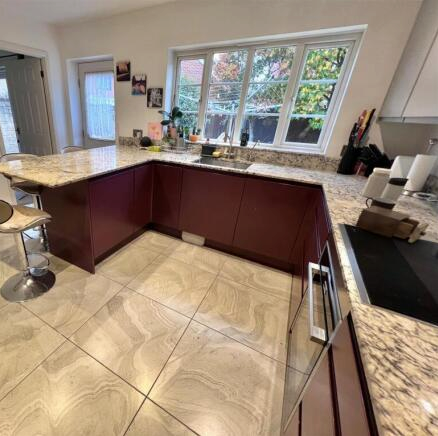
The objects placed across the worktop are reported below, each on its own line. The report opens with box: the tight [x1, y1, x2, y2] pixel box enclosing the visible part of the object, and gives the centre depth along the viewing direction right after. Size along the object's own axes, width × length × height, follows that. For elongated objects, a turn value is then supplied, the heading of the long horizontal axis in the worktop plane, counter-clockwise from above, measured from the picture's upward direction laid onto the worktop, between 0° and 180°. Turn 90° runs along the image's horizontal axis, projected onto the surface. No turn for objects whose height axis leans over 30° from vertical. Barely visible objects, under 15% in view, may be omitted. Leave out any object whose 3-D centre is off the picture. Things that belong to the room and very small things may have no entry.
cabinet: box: [354, 205, 411, 239], centre depth 104 cm, size 13×12×9 cm
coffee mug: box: [365, 197, 398, 210], centre depth 116 cm, size 12×9×10 cm
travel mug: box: [381, 177, 410, 211], centre depth 118 cm, size 6×7×20 cm
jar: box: [361, 167, 393, 199], centre depth 147 cm, size 10×10×18 cm
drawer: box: [393, 218, 430, 244], centre depth 98 cm, size 13×10×7 cm
